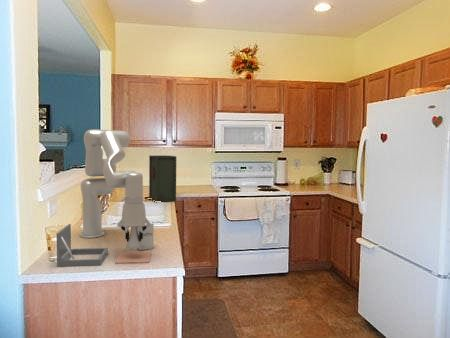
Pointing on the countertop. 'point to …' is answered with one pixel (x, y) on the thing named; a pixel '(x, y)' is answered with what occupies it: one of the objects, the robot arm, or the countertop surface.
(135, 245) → the flask
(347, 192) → the countertop surface
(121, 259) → the plate
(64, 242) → the case
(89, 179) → the robot arm
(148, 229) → the supplement box
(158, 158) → the dark green tall block
